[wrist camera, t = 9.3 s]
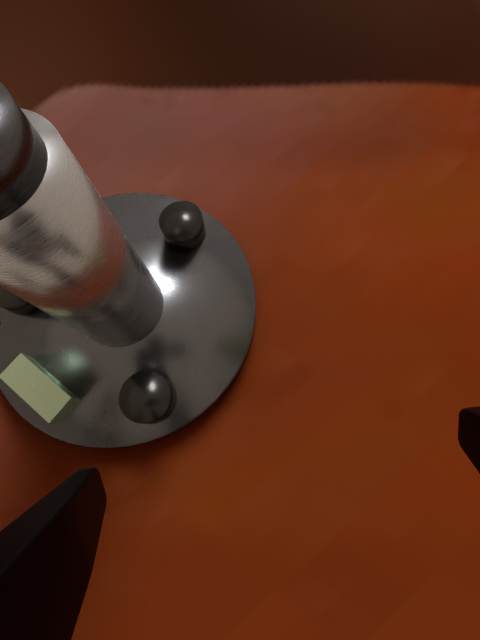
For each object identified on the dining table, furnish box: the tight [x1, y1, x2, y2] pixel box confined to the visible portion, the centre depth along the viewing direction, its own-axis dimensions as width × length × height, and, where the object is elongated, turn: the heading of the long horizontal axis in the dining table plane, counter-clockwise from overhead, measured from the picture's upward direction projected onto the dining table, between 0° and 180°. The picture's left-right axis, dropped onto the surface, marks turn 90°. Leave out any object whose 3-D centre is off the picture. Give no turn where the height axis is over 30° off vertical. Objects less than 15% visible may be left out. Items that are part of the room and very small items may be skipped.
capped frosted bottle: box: [0, 82, 164, 347], centre depth 14 cm, size 5×5×12 cm
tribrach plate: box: [0, 193, 256, 448], centre depth 20 cm, size 16×16×2 cm
